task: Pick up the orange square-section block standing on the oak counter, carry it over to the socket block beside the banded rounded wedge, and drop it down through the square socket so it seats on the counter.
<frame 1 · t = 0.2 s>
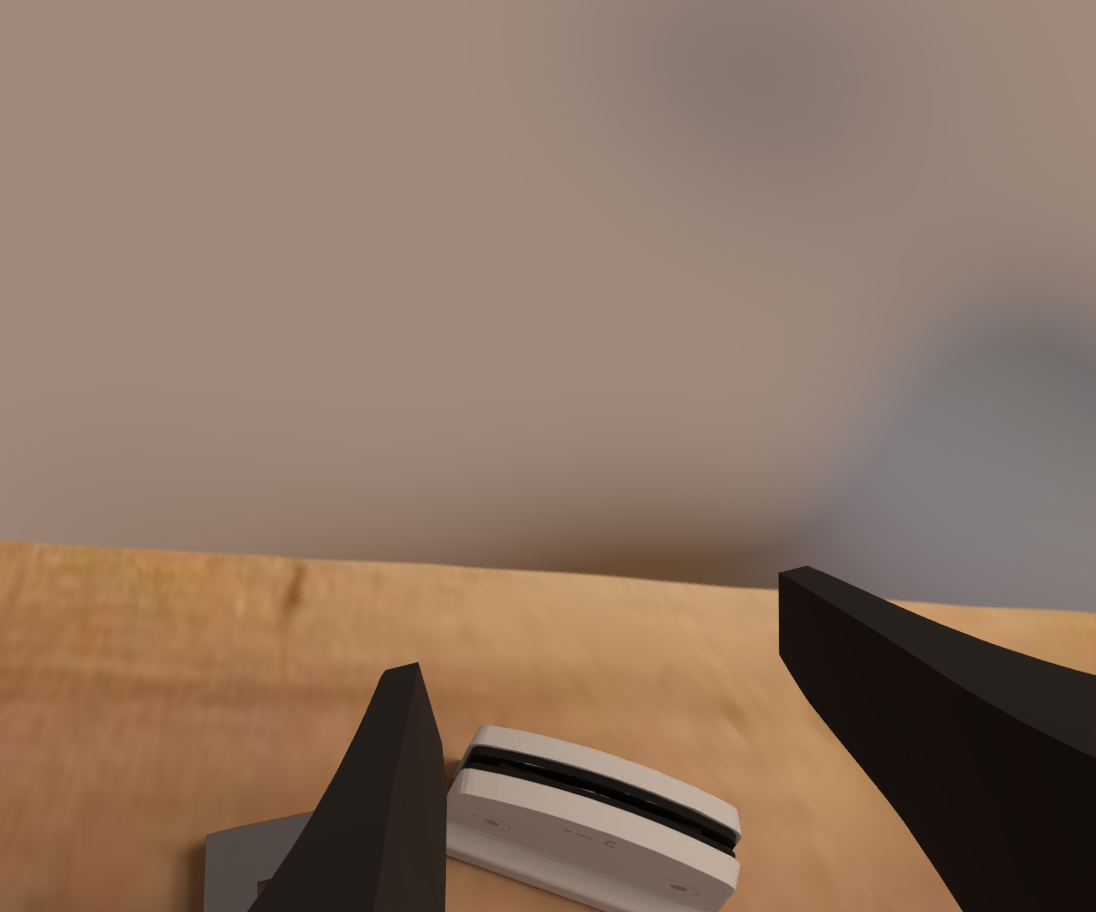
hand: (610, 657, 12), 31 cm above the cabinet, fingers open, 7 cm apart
banded rounded wedge: (581, 822, 38), on the cabinet
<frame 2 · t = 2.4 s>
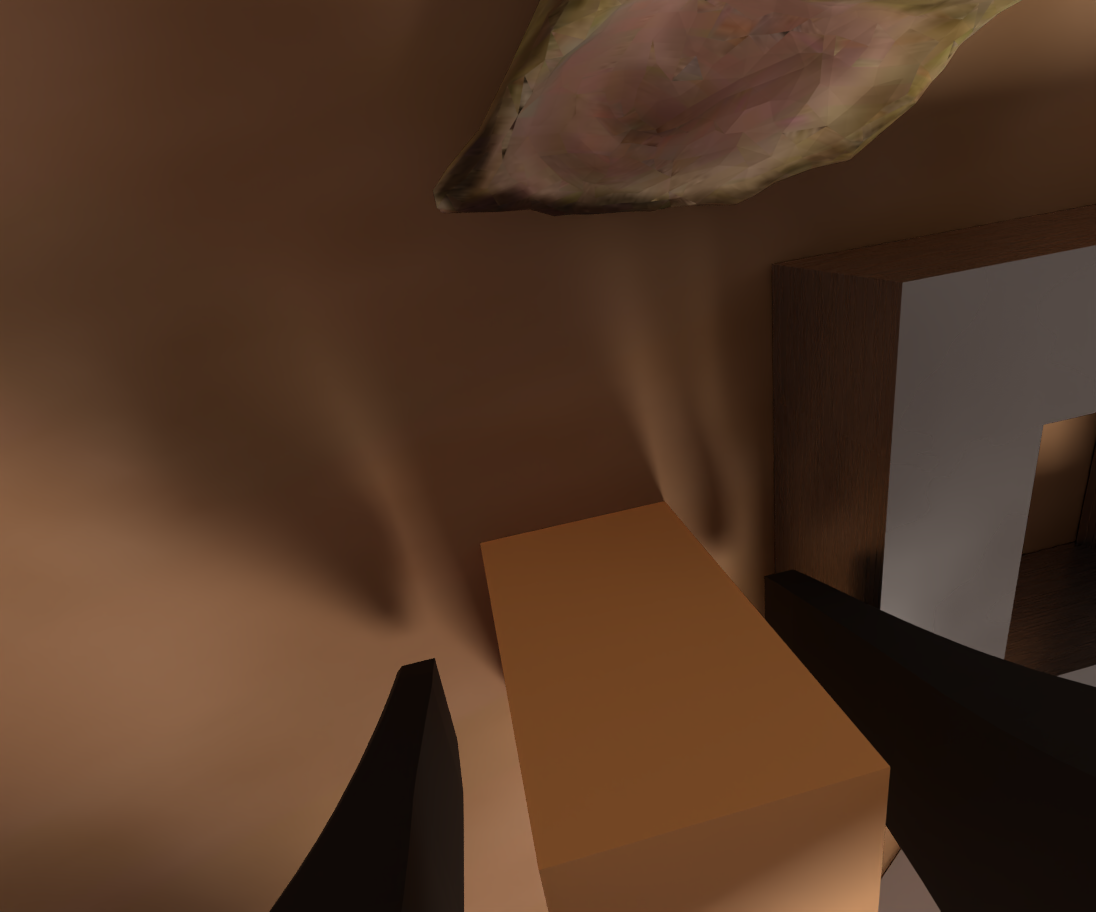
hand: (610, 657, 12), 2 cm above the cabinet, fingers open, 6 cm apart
banded rounded wedge: (976, 853, 21), on the cabinet
socket block: (992, 465, 15), on the cabinet
orange square-section block: (585, 600, 14), on the cabinet
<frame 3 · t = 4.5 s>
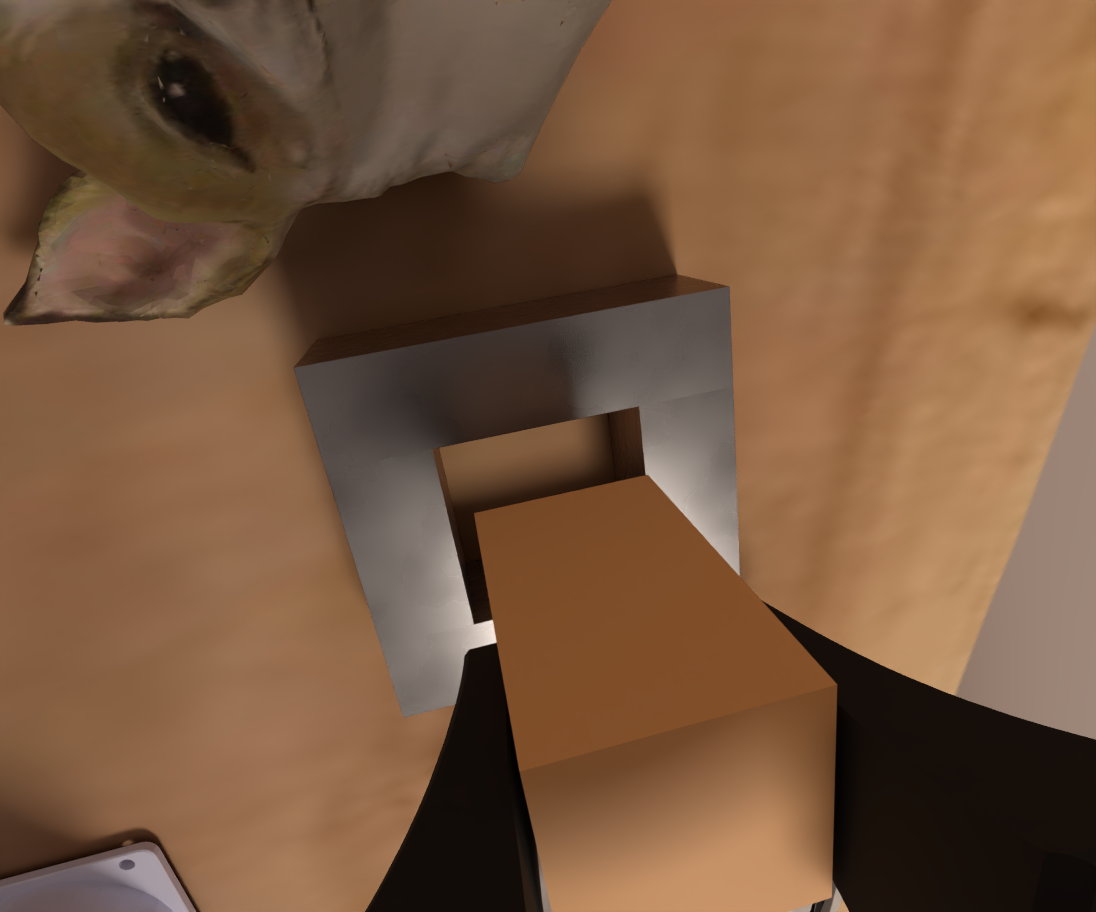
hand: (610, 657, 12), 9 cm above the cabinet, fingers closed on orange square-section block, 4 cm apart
banded rounded wedge: (629, 770, 27), on the cabinet
ceramic sculpture: (279, 63, 16), on the cabinet
socket block: (532, 472, 21), on the cabinet
orange square-section block: (574, 569, 15), point 7 cm above the cabinet, touching gripper
when the fingers open (5 cm above the cabinet, at t = 6.2 s): orange square-section block drops 2 cm, resting in socket block.
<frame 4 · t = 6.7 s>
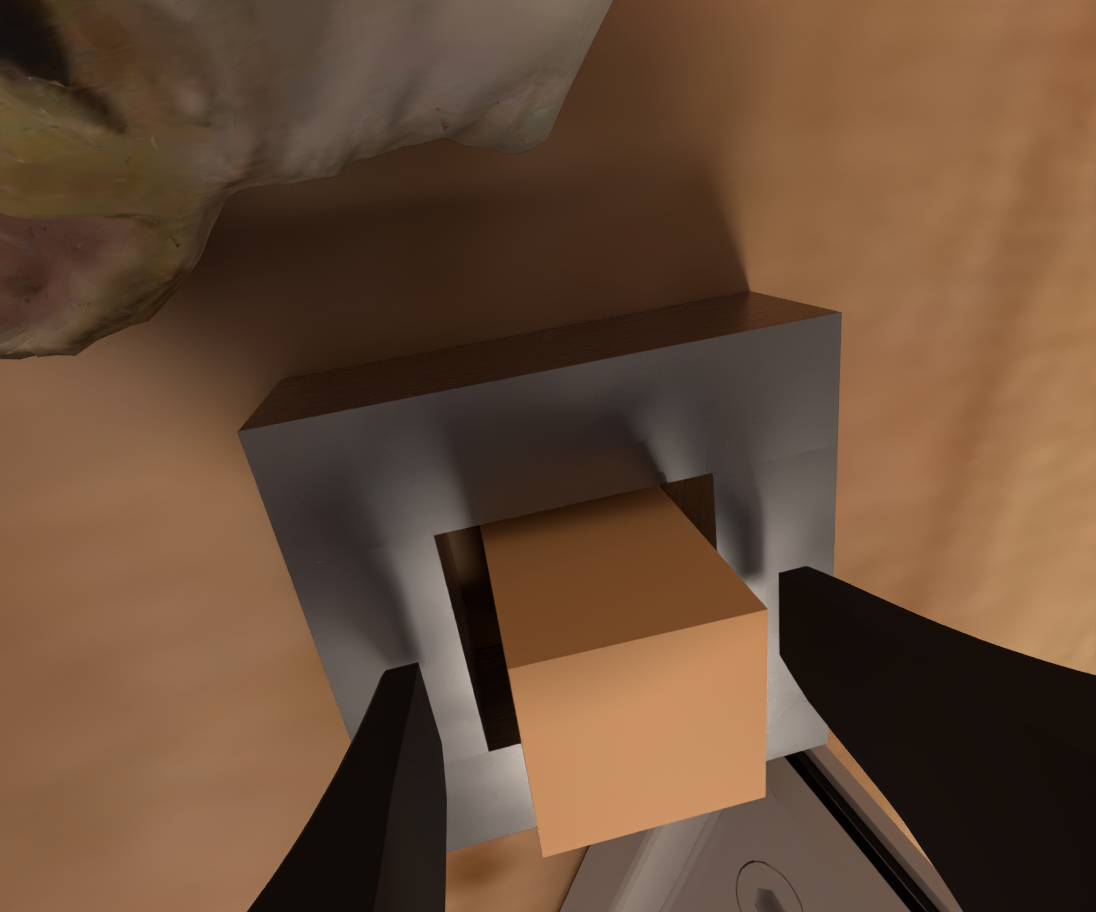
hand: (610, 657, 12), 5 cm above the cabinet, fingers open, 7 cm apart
banded rounded wedge: (669, 875, 23), on the cabinet
socket block: (560, 540, 16), on the cabinet
orange square-section block: (559, 533, 16), resting in socket block
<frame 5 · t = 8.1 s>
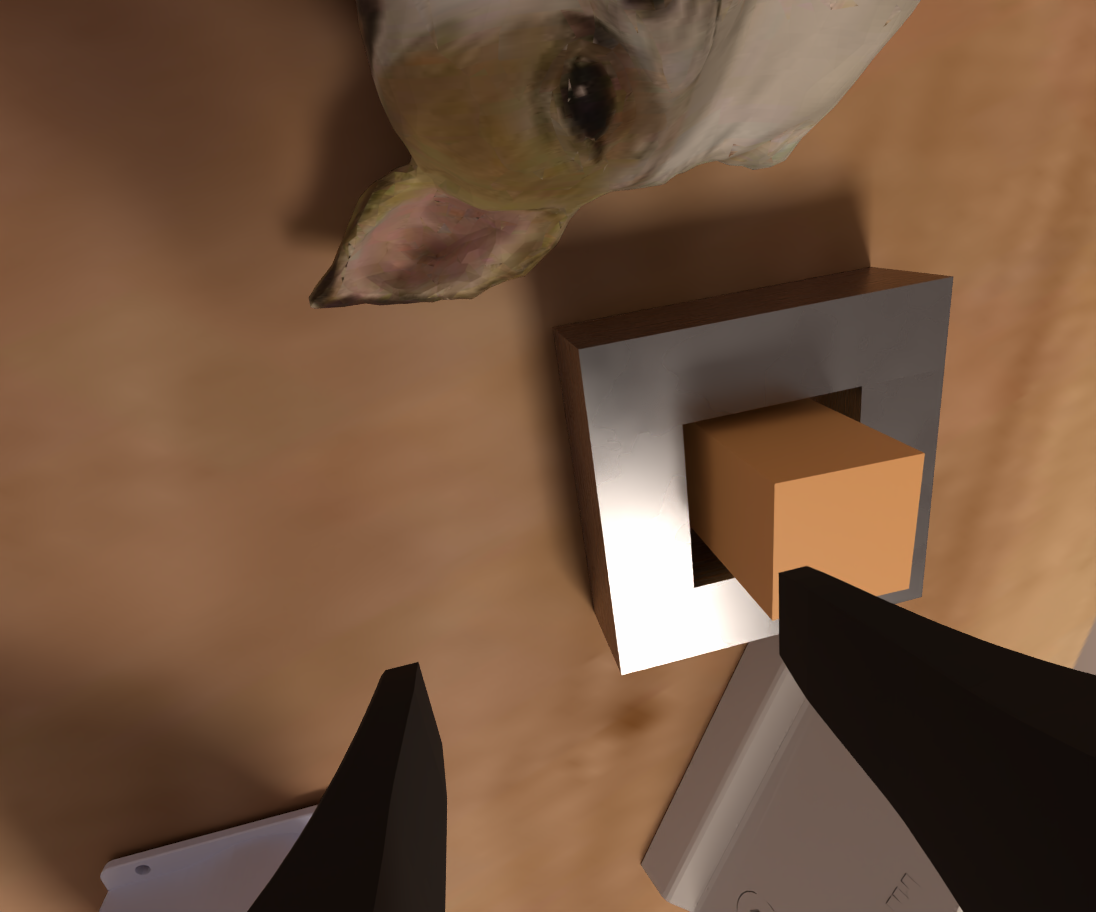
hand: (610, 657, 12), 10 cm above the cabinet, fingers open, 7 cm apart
banded rounded wedge: (773, 736, 29), on the cabinet
ceramic sculpture: (533, 66, 17), on the cabinet
socket block: (723, 451, 22), on the cabinet
orange square-section block: (723, 446, 22), resting in socket block
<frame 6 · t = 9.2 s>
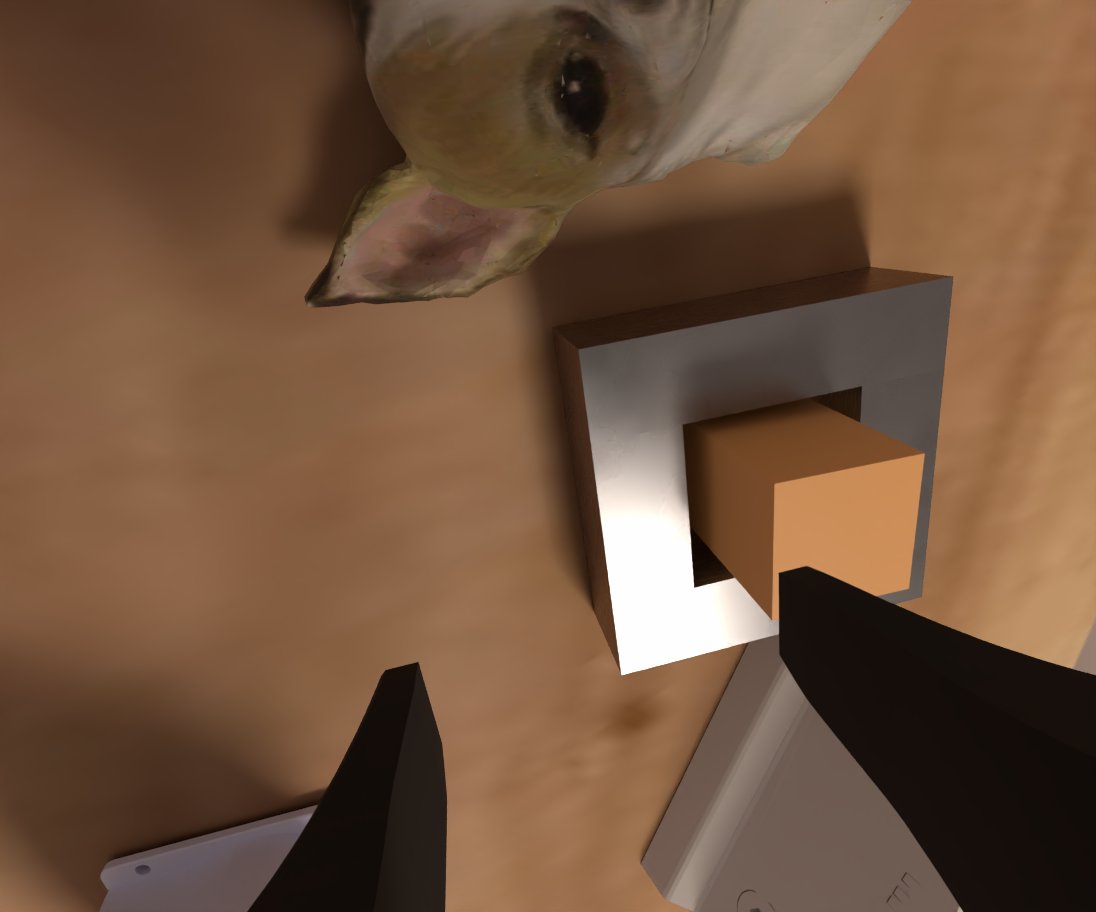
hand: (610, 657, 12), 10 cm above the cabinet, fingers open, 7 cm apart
banded rounded wedge: (774, 735, 29), on the cabinet
ceramic sculpture: (528, 63, 17), on the cabinet
socket block: (723, 451, 22), on the cabinet
orange square-section block: (723, 446, 22), resting in socket block
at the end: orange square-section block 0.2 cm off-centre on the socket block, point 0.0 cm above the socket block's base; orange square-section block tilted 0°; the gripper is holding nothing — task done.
